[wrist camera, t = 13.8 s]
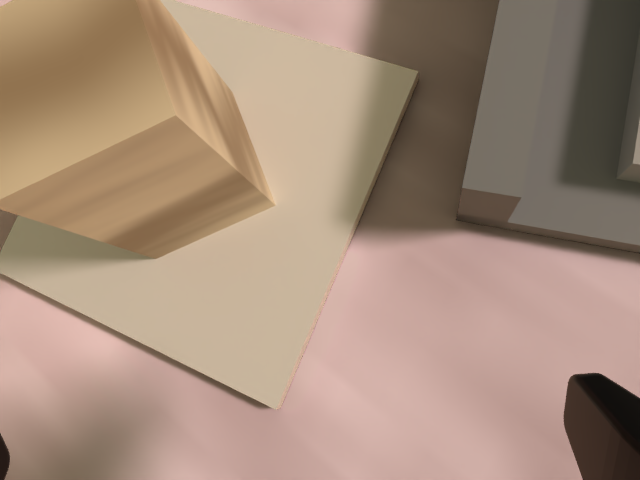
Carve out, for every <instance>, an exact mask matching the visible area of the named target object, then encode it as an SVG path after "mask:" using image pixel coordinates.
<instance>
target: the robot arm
mask: <svg viewBox="0 0 640 480" xmlns="http://www.w3.org/2000/svg"><path fill="white" fill-rule="evenodd" d="M564 426H565V430H566V433H567V436H568V439H569V442H570V445H571V447H572V450H573V453H574V456H575V459H576V461H577V464H578V467H579V470H580V473H581V475H582V478H583V480H640V398H639V397H637V396H636V395H634V394H632V393H631V392H629V391H628V390H626V389H625V388H623V387H621V386H620V385H618V384H617V383H615V382H613V381H612V380H610V379H609V378H607V377H605V376H604V375H602V374H599V373H588V374H575V375H573V376H571V377H570V379H569V382H568V387H567V394H566V402H565V409H564ZM9 463H10V455H9V451H8V448H7V446H6V444H5V442H4V440H3V438H2V436H1V434H0V480H4V479H5V477H6V474H7V471H8V468H9Z"/></svg>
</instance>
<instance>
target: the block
mask: <svg viewBox="0 0 640 480" xmlns="http://www.w3.org/2000/svg"><path fill="white" fill-rule="evenodd" d="M273 206H276V204H275V202H274V199H273V197H272V194H271V191H270V189H269V186H268V184H267V181H266V178H265V176H264V173H263V170H262V168H261V165H260V163H259V160H258V157H257V155H256V152H255V150H254V147H253V144H252V142H251V139H250V137H249V134H248V131H247V129H246V126H245V124H244V121H243V118H242V116H241V113H240V111H239V108H238V105H237V103H236V100H235V98H234V95H233V92H232V91H231V90H230V88H229V87H228V86H227V85H226V83H225V82H224V81H223V80H222V78H221V77H220V76H219V74H218V73H217V72H216V71H215V69H214V68H213V67H212V66H211V64H210V63H209V62H208V61H207V59H206V58H205V57H204V55H203V54H202V53H201V52H200V50H199V49H198V48H197V47H196V45H195V44H194V43H193V42H192V40H191V39H190V38H189V36H188V35H187V34H186V33H185V31H184V30H183V29H182V28H181V26H180V25H179V24H178V22H177V21H176V20H175V19H174V17H173V16H172V15H171V14H170V12H169V11H168V10H167V9H166V7H165V6H164V5H163V3H162V2H161V1H160V0H13V1H11V2H9V3H7V4H5V5H3V6H1V7H0V209H1V210H4V211H7V212H10V213H13V214H16V215H19V216H23V217H26V218H29V219H32V220H35V221H38V222H41V223H44V224H48V225H51V226H54V227H57V228H60V229H63V230H66V231H70V232H73V233H76V234H79V235H82V236H85V237H88V238H91V239H95V240H98V241H101V242H104V243H107V244H110V245H113V246H117V247H120V248H123V249H126V250H129V251H132V252H135V253H138V254H142V255H145V256H148V257H151V258H154V259H157V258H159V257H162V256H164V255H166V254H168V253H171V252H173V251H175V250H177V249H180V248H182V247H184V246H186V245H189V244H191V243H193V242H195V241H197V240H200V239H202V238H204V237H206V236H209V235H211V234H213V233H215V232H218V231H220V230H222V229H224V228H227V227H229V226H231V225H233V224H235V223H238V222H240V221H242V220H244V219H247V218H249V217H251V216H253V215H256V214H258V213H260V212H262V211H265V210H267V209H269V208H271V207H273Z"/></svg>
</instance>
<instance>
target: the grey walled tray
mask: <svg viewBox="0 0 640 480" xmlns="http://www.w3.org/2000/svg"><path fill="white" fill-rule="evenodd" d="M456 220H458V221H464V222H470V223H475V224H481V225H486V226H492V227H497V228H503V229H509V230H514V231H520V232H525V233H531V234H537V235H542V236H548V237H553V238H559V239H565V240H570V241H576V242H581V243H587V244H592V245H598V246H604V247H609V248H615V249H620V250H626V251H632V252H637V253H640V0H499V5H498V10H497V15H496V20H495V25H494V30H493V35H492V40H491V45H490V50H489V55H488V60H487V65H486V70H485V75H484V80H483V85H482V90H481V95H480V100H479V105H478V110H477V115H476V120H475V125H474V130H473V135H472V140H471V145H470V150H469V155H468V160H467V165H466V170H465V175H464V180H463V185H462V190H461V196H460V201H459V207H458V213H457V219H456Z"/></svg>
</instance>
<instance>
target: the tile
mask: <svg viewBox="0 0 640 480" xmlns="http://www.w3.org/2000/svg"><path fill="white" fill-rule="evenodd" d="M160 1H161V2H162V3H163V5H164V6H165V7H166V9H167V10H168V11H169V12H170V14H171V15H172V16H173V17H174V19H175V20H176V21H177V22H178V24H179V25H180V26H181V28H182V29H183V30H184V31H185V33H186V34H187V35H188V36H189V38H190V39H191V40H192V42H193V43H194V44H195V45H196V47H197V48H198V49H199V50H200V52H201V53H202V54H203V55H204V57H205V58H206V59H207V61H208V62H209V63H210V64H211V66H212V67H213V68H214V69H215V71H216V72H217V73H218V74H219V76H220V77H221V78H222V80H223V81H224V82H225V83H226V85H227V86H228V87H229V88H230V90H231V91H232V92H233V95H234V98H235V100H236V103H237V105H238V108H239V111H240V113H241V116H242V118H243V121H244V124H245V126H246V129H247V131H248V134H249V137H250V139H251V142H252V144H253V147H254V150H255V152H256V155H257V157H258V160H259V163H260V165H261V168H262V170H263V173H264V176H265V178H266V181H267V184H268V186H269V189H270V191H271V194H272V197H273V199H274V202H275V204H276V206H273V207H271V208H269V209H267V210H265V211H262V212H260V213H258V214H256V215H253V216H251V217H249V218H247V219H244V220H242V221H240V222H238V223H235V224H233V225H231V226H229V227H227V228H224V229H222V230H220V231H218V232H215V233H213V234H211V235H209V236H206V237H204V238H202V239H200V240H197V241H195V242H193V243H191V244H189V245H186V246H184V247H182V248H180V249H177V250H175V251H173V252H171V253H168V254H166V255H164V256H162V257H159V258H157V259H154V258H151V257H148V256H145V255H142V254H138V253H135V252H132V251H129V250H126V249H123V248H120V247H117V246H113V245H110V244H107V243H104V242H101V241H98V240H95V239H91V238H88V237H85V236H82V235H79V234H76V233H73V232H70V231H66V230H63V229H60V228H57V227H54V226H51V225H48V224H44V223H41V222H38V221H35V220H32V219H29V218H26V217H23V216H19V215H18V216H17V219H16V221H15V223H14V225H13V227H12V229H11V231H10V233H9V235H8V237H7V239H6V241H5V243H4V245H3V247H2V249H1V251H0V273H1V274H3V275H5V276H7V277H9V278H11V279H13V280H15V281H17V282H19V283H21V284H23V285H25V286H27V287H29V288H31V289H33V290H35V291H37V292H39V293H41V294H43V295H45V296H47V297H49V298H51V299H53V300H55V301H58V302H60V303H62V304H64V305H66V306H68V307H70V308H72V309H74V310H76V311H78V312H80V313H82V314H84V315H86V316H88V317H90V318H92V319H94V320H96V321H98V322H100V323H102V324H104V325H106V326H108V327H110V328H112V329H114V330H116V331H118V332H120V333H122V334H124V335H126V336H128V337H130V338H132V339H134V340H136V341H138V342H140V343H142V344H144V345H146V346H148V347H150V348H152V349H154V350H156V351H158V352H160V353H162V354H164V355H166V356H168V357H170V358H172V359H174V360H176V361H178V362H180V363H182V364H184V365H186V366H188V367H190V368H192V369H194V370H197V371H199V372H201V373H203V374H205V375H207V376H209V377H211V378H213V379H215V380H217V381H219V382H221V383H223V384H225V385H227V386H229V387H231V388H233V389H235V390H237V391H239V392H241V393H243V394H245V395H247V396H249V397H251V398H253V399H255V400H257V401H259V402H261V403H263V404H265V405H267V406H269V407H271V408H273V409H275V410H277V409H279V408H281V406H282V404H283V401H284V399H285V397H286V394H287V392H288V389H289V387H290V385H291V382H292V380H293V377H294V375H295V373H296V370H297V368H298V366H299V363H300V361H301V358H302V356H303V354H304V351H305V349H306V346H307V344H308V342H309V339H310V337H311V335H312V332H313V330H314V327H315V325H316V323H317V320H318V318H319V315H320V313H321V311H322V308H323V306H324V304H325V301H326V299H327V296H328V294H329V292H330V289H331V287H332V284H333V282H334V280H335V277H336V275H337V273H338V270H339V268H340V265H341V263H342V261H343V258H344V256H345V254H346V251H347V249H348V246H349V244H350V242H351V239H352V237H353V234H354V232H355V230H356V227H357V225H358V223H359V220H360V218H361V215H362V213H363V211H364V208H365V206H366V203H367V201H368V199H369V196H370V194H371V192H372V189H373V187H374V184H375V182H376V180H377V177H378V175H379V172H380V170H381V168H382V165H383V163H384V161H385V158H386V156H387V153H388V151H389V149H390V146H391V144H392V141H393V139H394V137H395V134H396V132H397V130H398V127H399V125H400V122H401V120H402V118H403V115H404V113H405V111H406V108H407V106H408V103H409V101H410V99H411V96H412V94H413V91H414V89H415V87H416V84H417V82H418V80H419V75H418V71H416V70H413V69H409V68H406V67H402V66H399V65H395V64H392V63H388V62H385V61H381V60H378V59H374V58H371V57H368V56H364V55H361V54H357V53H354V52H350V51H347V50H343V49H340V48H336V47H333V46H330V45H326V44H323V43H319V42H316V41H312V40H309V39H305V38H302V37H298V36H295V35H292V34H288V33H285V32H281V31H278V30H274V29H271V28H267V27H264V26H260V25H257V24H254V23H250V22H247V21H243V20H240V19H236V18H233V17H229V16H226V15H222V14H219V13H215V12H212V11H209V10H205V9H202V8H198V7H195V6H191V5H188V4H184V3H181V2H177V1H174V0H160Z"/></svg>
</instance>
